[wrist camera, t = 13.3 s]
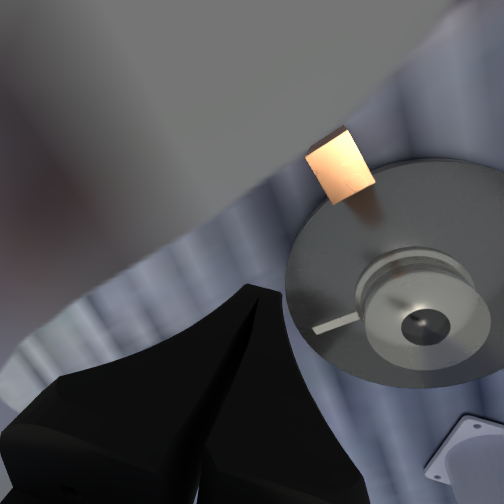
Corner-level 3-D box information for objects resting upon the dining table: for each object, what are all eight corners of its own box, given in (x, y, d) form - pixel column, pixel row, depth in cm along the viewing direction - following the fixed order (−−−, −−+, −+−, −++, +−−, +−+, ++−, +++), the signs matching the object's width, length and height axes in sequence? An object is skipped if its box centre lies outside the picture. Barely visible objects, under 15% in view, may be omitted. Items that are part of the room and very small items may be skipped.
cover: (443, 226, 16) (468, 249, 13) (488, 315, 17) (519, 353, 15) (335, 276, 18) (337, 304, 16) (382, 350, 20) (392, 388, 17)
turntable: (480, 35, 13) (534, 10, 10) (595, 333, 18) (661, 389, 14) (220, 205, 20) (196, 226, 16) (352, 396, 24) (356, 446, 20)
